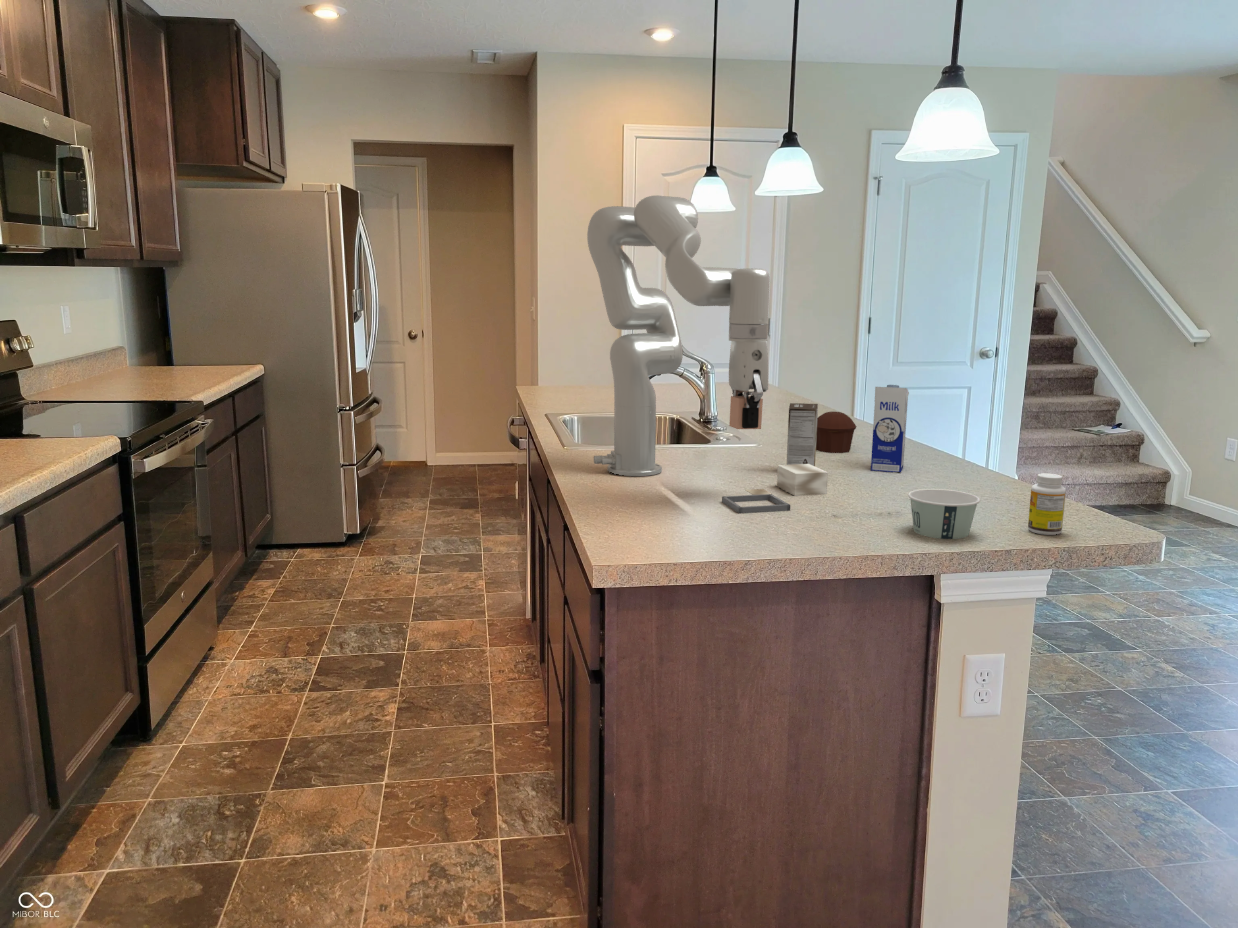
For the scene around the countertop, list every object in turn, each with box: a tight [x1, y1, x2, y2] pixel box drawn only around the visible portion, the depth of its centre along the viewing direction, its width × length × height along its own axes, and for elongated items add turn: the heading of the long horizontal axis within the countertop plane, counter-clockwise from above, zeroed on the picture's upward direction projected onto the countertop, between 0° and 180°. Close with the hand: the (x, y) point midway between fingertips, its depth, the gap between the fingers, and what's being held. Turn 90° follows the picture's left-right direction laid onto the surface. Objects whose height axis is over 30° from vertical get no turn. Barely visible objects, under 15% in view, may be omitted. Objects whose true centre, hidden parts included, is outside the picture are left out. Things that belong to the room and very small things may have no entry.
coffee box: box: [786, 402, 819, 467], centre depth 206 cm, size 9×6×16 cm
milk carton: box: [870, 384, 910, 473], centre depth 212 cm, size 7×7×20 cm
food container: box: [907, 488, 981, 540], centre depth 160 cm, size 12×12×6 cm
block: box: [728, 395, 764, 430], centre depth 180 cm, size 5×4×6 cm
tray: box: [721, 493, 791, 514], centre depth 173 cm, size 10×9×2 cm
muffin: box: [816, 411, 857, 454], centre depth 238 cm, size 12×11×10 cm
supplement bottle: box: [1027, 472, 1067, 536], centre depth 160 cm, size 6×6×10 cm
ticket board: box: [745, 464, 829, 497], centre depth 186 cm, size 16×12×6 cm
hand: (745, 424), depth 180 cm, fingers closed on block, 4 cm apart
